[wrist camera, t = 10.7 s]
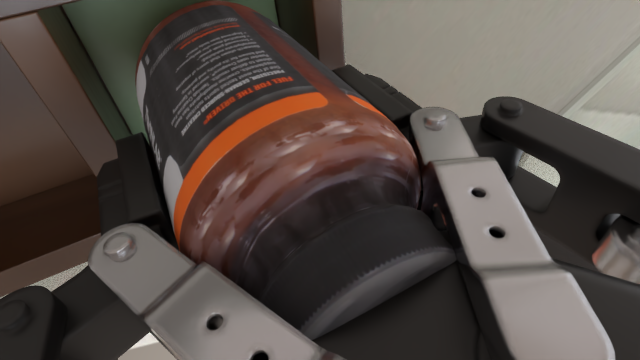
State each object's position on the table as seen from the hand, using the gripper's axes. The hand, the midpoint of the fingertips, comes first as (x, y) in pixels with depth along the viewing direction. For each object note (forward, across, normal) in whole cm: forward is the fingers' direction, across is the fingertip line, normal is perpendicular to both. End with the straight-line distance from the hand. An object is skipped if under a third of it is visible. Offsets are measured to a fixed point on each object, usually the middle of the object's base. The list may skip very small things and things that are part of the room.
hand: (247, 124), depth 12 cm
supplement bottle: (+4, 0, 0) cm, 4 cm away
